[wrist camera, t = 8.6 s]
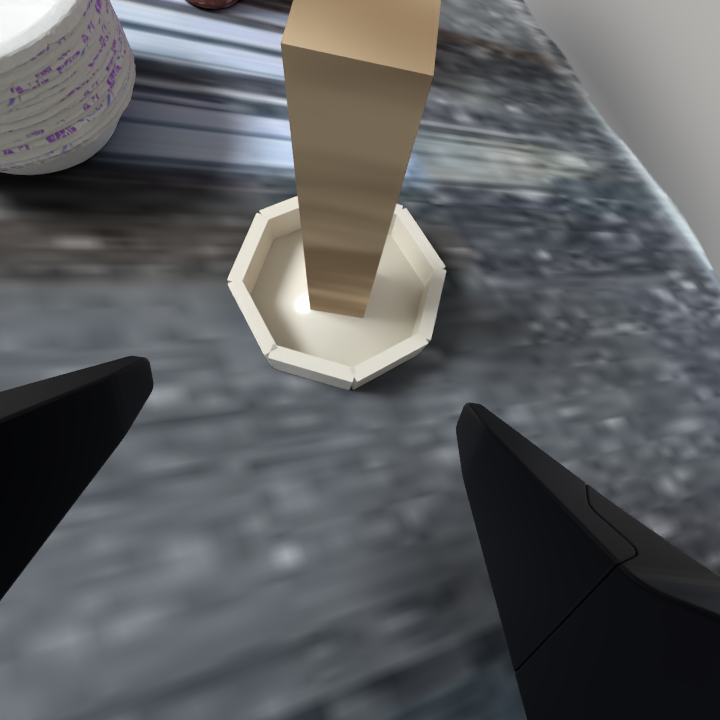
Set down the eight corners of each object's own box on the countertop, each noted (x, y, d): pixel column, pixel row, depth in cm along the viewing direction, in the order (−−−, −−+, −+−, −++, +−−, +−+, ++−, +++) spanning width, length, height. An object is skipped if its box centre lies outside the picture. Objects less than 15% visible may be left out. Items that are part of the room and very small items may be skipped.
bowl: (461, 330, 22) (479, 315, 19) (299, 419, 19) (295, 415, 17) (372, 194, 24) (377, 165, 22) (214, 257, 21) (200, 232, 19)
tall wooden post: (363, 318, 21) (433, 75, 7) (310, 309, 20) (280, 43, 7) (369, 271, 22) (443, -21, 8) (319, 262, 21) (308, -52, 8)
